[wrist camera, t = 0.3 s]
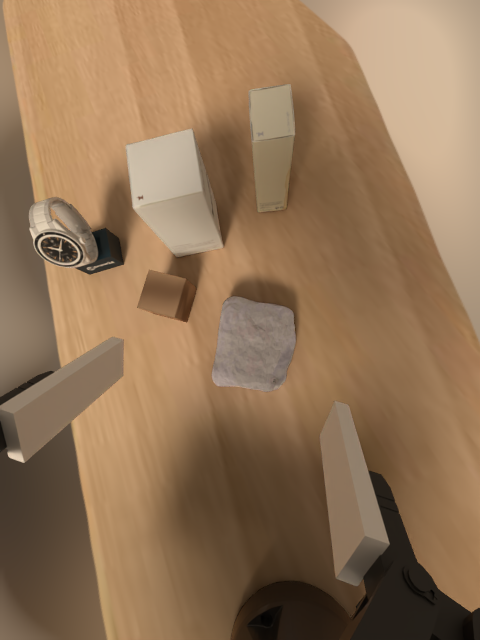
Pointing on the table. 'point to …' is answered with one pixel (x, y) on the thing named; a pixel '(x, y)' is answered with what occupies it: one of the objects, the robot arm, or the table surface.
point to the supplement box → (174, 192)
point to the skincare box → (272, 144)
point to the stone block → (253, 345)
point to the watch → (72, 238)
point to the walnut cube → (167, 296)
